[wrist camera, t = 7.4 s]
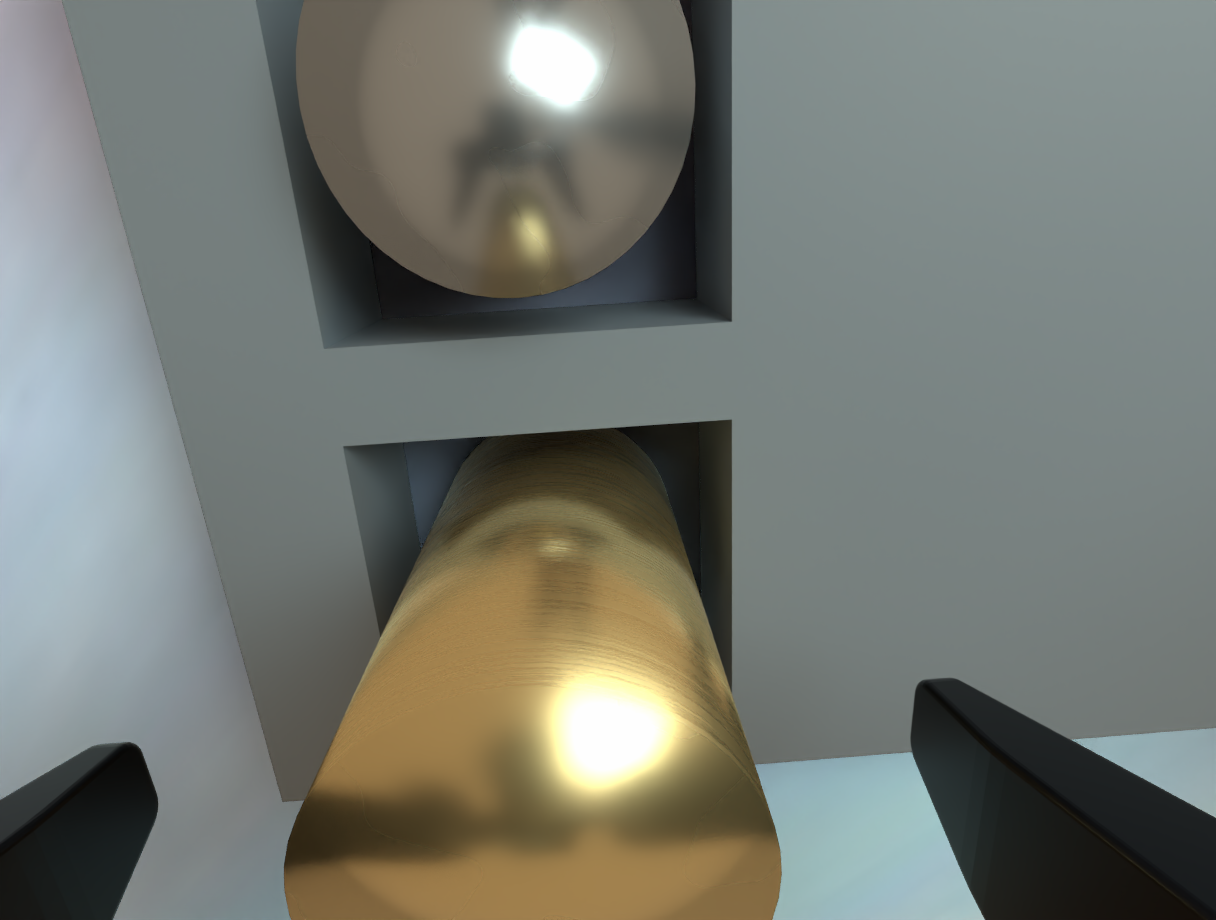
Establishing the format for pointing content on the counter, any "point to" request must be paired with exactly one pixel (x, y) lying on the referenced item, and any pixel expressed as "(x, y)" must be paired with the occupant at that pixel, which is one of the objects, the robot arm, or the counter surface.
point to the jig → (743, 358)
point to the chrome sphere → (498, 130)
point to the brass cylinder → (541, 717)
